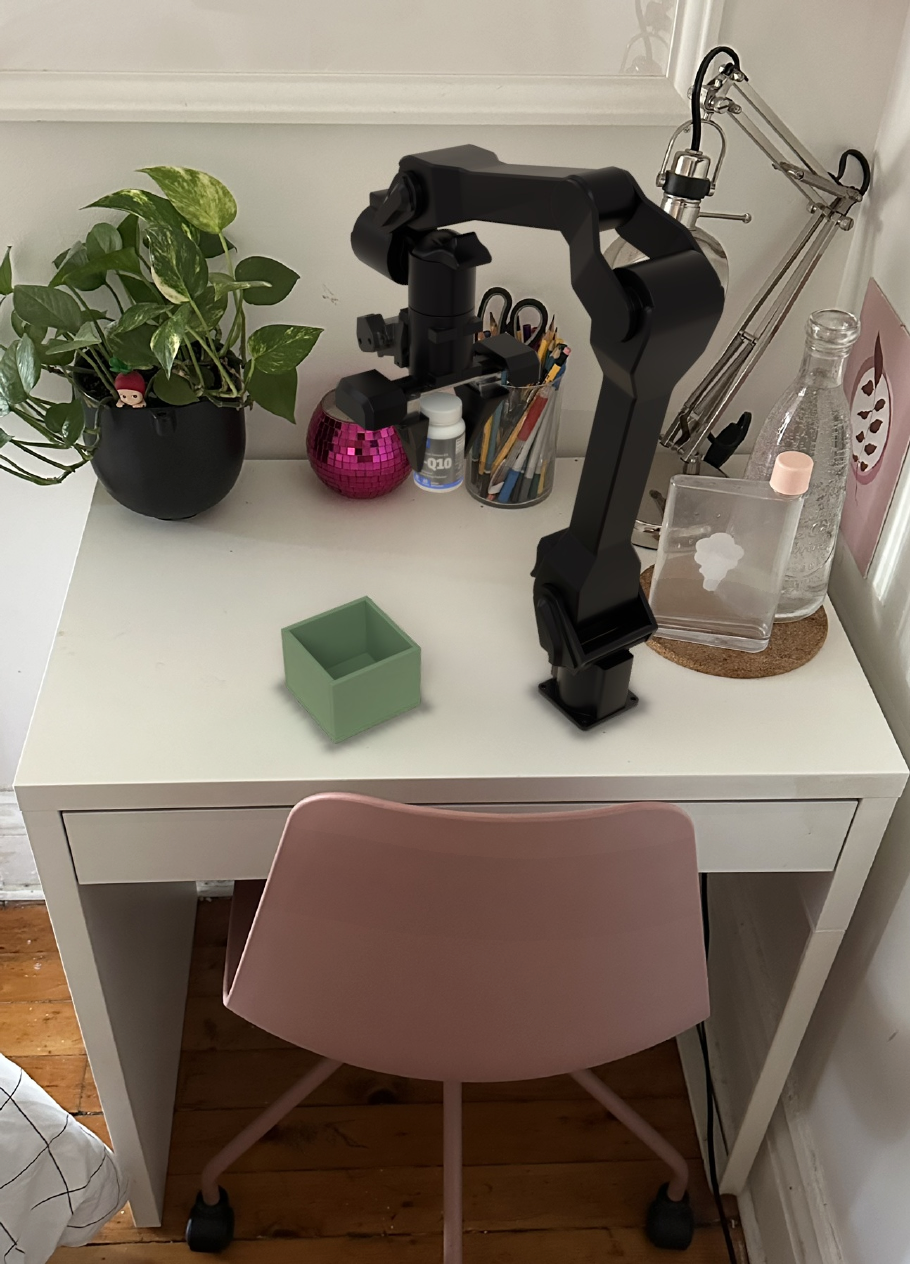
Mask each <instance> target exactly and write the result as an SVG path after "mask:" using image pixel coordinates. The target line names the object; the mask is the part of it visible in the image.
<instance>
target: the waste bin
mask: <svg viewBox="0 0 910 1264" xmlns="http://www.w3.org/2000/svg"><path fill="white" fill-rule="evenodd" d="M280 634H281V646H282V647H281V648H282V657H283V658H282V659H283V668H284V670H283V671H284V681H285V687H286V688H287V689H288V690H289V692H290V693H291V694H292V696H293V697H294V698H295V699H296V700H297V701H298V702H299V703H300V704H301V706H302V707H303V708H304V709H305V710H306V711H307V713H308V714H309V715H310V716H311V717H312V718H313V720H314V721H315V722H316V723H317V724H318V726H319V727H320V728H321V729H322V730H323V731H324V732H325V734H326V735H328V737H329V738H330V740H332V742H333V743H334V744H338V743H340V742H342V741H344V740H347V739H349V738H351V737H353V736H356V735H358V734H360V733H362V732H365V731H366V730H369V729H371V728H373V727H375V726H378V725H379V724H382V723H384V722H386V721H388V720H390V719H392V718H395V717H397V716H400V715H402V714H404V713H406V712H408V711H410V710H412V709H415V708H417V707H419V706H421V680H422V679H421V675H422V672H421V671H422V648H421V646H420V645H419V644H418V643H416V641H414V639H412V637H410V636H409V635H408V633H406V631H404V630H403V629H402V628H401V626H399V625H398V624H397V622H395V621H394V620H393V619H392V618H391V617H390V616H389V615H388V614H387V613H386V612H385V611H384V610H383V609H382V608H381V607H380V606H378V604H376V602H375V601H374V600H372V599H371V598H370V596H368V595H363V596H361V597H359V598H357V599H354V600H351V601H349V602H346V603H344V604H341V605H339V606H336V607H333V608H331V609H328V610H326V611H323V612H320V613H318V614H316V615H313V616H311V617H308V618H305V619H303V620H300V621H298V622H295V623H292V624H290V625H287V626H285V627H282V628H281V629H280Z"/></svg>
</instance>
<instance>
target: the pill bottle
mask: <svg viewBox="0 0 910 1264" xmlns="http://www.w3.org/2000/svg"><path fill="white" fill-rule="evenodd" d="M420 411H421V412H422V413H423V414H425V415H426V416H427V417H429V419H430V420H429V428H428V435H427V442H426V450H425V458H424V463H423V467H422V470H421V472H419V473H417V472H415V471H414V470H413V481H414V484H415V486H417V487H418V488H420V489H421V490H423V491H426V492H429V493H434V494H443V493H444V494H445V493H450V492H454V490H457V489H458V488H459V487H461V485H462V484H463V482H464V468H465V467H464V466H465V464H464V463H465V457H464V446H465V423H464V420H463V419H462V418H461V417H462V401H461V399H460V398H459V397H457V396H456V394H453V393H451V392H445V391H439V392H435V393H432V394H428V395H425V396H422V397H421V400H420Z"/></svg>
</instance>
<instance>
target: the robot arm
mask: <svg viewBox="0 0 910 1264" xmlns="http://www.w3.org/2000/svg"><path fill="white" fill-rule="evenodd" d="M368 195H369V196H368V197H369V199H368V200H369V205H368V206H366V207H365V208H364V209H363V210H362V211H361V213H360V214H359V215H358V217H357V218H356V220H355V222H354V224H353V228H352V230H351V232H350V237H349V239H350V246H351V249H352V252H353V254H354V256H355V257H356V258H357V259H358V261H360V262H361V263H363V264H364V265H366V266H368V267H369V268H371V269H372V270H374V271H376V272H377V273H379V274H381V275H382V276H384V277H385V278H387V279H389V280H390V281H392V282H393V283H395V284H396V285H400V286H407V307H403V308H399V313H398V314H397V315H394V316H391V317H385V318H384V316H383V315H382V313H368V314H364V315H361V316H357V317H356V333H355V334H356V339H357V344H358V347H359V350H360V351H361V352H362V353H376V354H377V358H384V357H385V356H386V357H393V364H394V365H395V366H397V367H398V368H399V369H407V370H408V372H407V373H408V375H405V376H401V377H399V378H396V379H392V380H391V379H390V378H389V377H387V376H386V375H384V374H383V373H382V372H380V371H379V370H377V369H376V368H372V369H369V370H366V371H362V372H358V373H354V374H350V375H347V376H344V377H341V379H339V381H338V382H337V383H336V384H335V388H334V400H335V402H334V403H335V407H336V408H337V409H338V410H339V411H340V412H342V413H343V414H344V415H345V416H347V418H349V419H350V420H351V421H353V422H354V423H355V424H356V425H358V426H359V427H360V428H361V429H363V430H364V431H366V432H377V431H381V430H383V429H389V428H390V427H393V428H394V429H395V431H396V434H397V436H398V438H399V440H400V443H401V446H402V448H403V451H404V453H405V455H406V458H407V460H408V463H409V465H410V468H411V469H412V470H413V472H414V471H415V472H417V473H419V472H421V470H422V467H423V463H424V458H425V450H426V442H427V435H428V428H429V420H430V419H429V417H427V416H426V415H425V414H423V413H422V412H421V411H420V400H421V397H422V396H425V395H428V394H432V393H435V392H443V391H445V390H448V389H452V388H453V391H454V393H455V394H454V395H455V396H457V397H459V398H460V399H461V401H462V417H461V418H462V419H463V420H464V423H465V446H464V458H466V457H467V456H468V455H469V452H470V451H471V449H472V448H473V446H474V444H475V443H476V441H477V439H478V438H479V436H480V434H481V432H482V431H483V430H484V428H485V426H486V425H487V423H488V422H489V421H490V419H491V417H492V416H493V415H494V413H495V412H496V410H497V409H498V408H499V406H500V405H501V403H502V402H503V401H505V400H506V399H509V398H510V397H511V396H510V395H511V390H510V389H508V388H506V387H505V386H504V385H502V372H506V374H505V380H506V382H507V383H508V384H510V385H511V386H512V387H514V388H515V389H519V388H522V387H526V386H528V385H531V384H535V383H539V382H540V380H541V379H540V378H541V369H542V367H541V365H542V361H541V358H540V356H539V354H538V352H537V351H536V350H535V349H534V348H532V347H530V346H529V345H528V344H526V343H524V342H522V341H521V340H519V339H517V338H516V337H514V335H513V336H512V335H511V334H510V333H508V332H503V333H500V334H496V335H492V336H489V337H485V338H482V339H477V340H476V341H475V335H476V334H479V333H483V332H484V320H483V319H482V318H481V317H480V316H479V317H478V316H477V315H476V290H477V289H476V286H477V267H480V266H485V265H489V264H491V263H492V261H493V256H492V254H491V252H490V250H489V249H488V247H486V246H485V245H484V244H483V243H482V242H481V240H480V238H479V237H478V234H477V232H476V231H468V232H465V233H461V232H459V231H458V230H455V229H452V228H444V227H450V226H454V225H460V224H464V223H469V222H474V221H477V222H483V223H492V224H499V225H500V224H501V225H507V226H516V227H523V228H531V229H539V230H540V229H541V230H548V231H556V232H560V233H561V235H562V237H563V239H564V240H565V242H566V243H567V245H568V249H569V269H570V271H569V272H570V273H569V274H570V286H571V288H572V290H573V292H574V293H575V295H576V297H577V299H578V301H580V303H581V305H582V307H583V308H584V310H585V311H586V313H587V315H588V317H589V318H590V330H589V344H590V347H591V350H592V351H593V353H594V356H595V358H596V361H597V363H598V365H599V367H600V369H601V372H602V381H601V385H600V390H599V394H598V398H597V403H596V407H595V412H594V416H593V420H592V425H591V429H590V434H589V438H588V442H587V447H586V451H585V455H584V460H583V463H582V464H583V465H582V468H581V473H580V477H579V482H578V487H577V492H576V496H575V500H574V504H573V508H572V512H571V519H570V521H569V525H568V526H567V527H565V528H562V529H559V530H557V531H555V532H552V533H550V534H549V533H548V534H546V535H545V536H541V537H540V539H539V542H538V544H537V546H536V555H535V556H536V557H535V563H534V566H533V568H532V570H531V571H530V573H529V575H530V577H531V578H534V581H533V584H532V585H533V586H532V602H533V603H532V604H533V610H534V617H535V621H536V627H537V635H538V636H537V637H538V640H539V646H540V647H541V649H543V650H544V651H545V652H546V653H547V656H548V660H547V663H549V664H550V665H551V669H550V676H552V677H551V678H549V679H547V680H544V681H542V682H541V683H539V684H538V685H537V691H538V693H540V695H542V696H543V697H544V698H545V699H546V700H547V701H548V702H549V703H551V704H552V705H553V706H554V707H555V708H556V709H557V710H558V711H559V712H560V713H561V714H562V715H563V716H565V717H566V718H567V719H568V721H570V722H571V723H573V725H575V726H576V727H577V728H578V729H579V730H581V731H582V732H586V731H589V730H591V729H593V728H596V727H598V726H599V725H601V724H603V723H605V722H607V721H609V720H611V719H613V718H614V717H617V716H618V715H621V714H623V713H625V712H627V711H629V710H630V709H633V708H634V707H636V706H638V705H639V701H640V698H639V697H638V695H636V694H635V693H634V692H633V691H631V690H630V689H629V687H630V681H631V675H632V670H633V665H634V664H633V663H634V657H635V655H634V654H633V653H632V652H631V651H630V649H631V648H635V647H636V646H639V645H641V644H642V643H647V642H649V641H651V640H652V639H653V638H654V636H655V635H656V633H657V632H658V630H659V624H658V622H657V621H658V620H656V617H655V614H654V612H653V610H652V607H651V605H650V603H649V600H648V598H647V595H646V593H645V590H644V588H643V586H642V584H641V580H640V579H641V573H642V560H641V559H640V556H639V554H638V552H637V551H636V548H635V546H634V544H633V542H632V536H633V533H634V529H635V527H636V526H635V525H636V522H637V518H638V515H639V511H640V509H641V504H642V502H643V497H644V495H645V494H644V493H645V489H646V488H647V487H646V486H647V483H648V479H649V476H650V472H651V468H652V465H653V462H654V458H655V455H656V451H657V447H658V444H659V440H660V436H661V433H662V429H663V427H664V426H663V425H664V422H665V419H666V414H667V411H668V408H669V404H670V400H671V397H672V393H673V391H674V389H675V387H676V385H677V384H678V383H679V382H680V381H681V380H682V379H683V377H685V375H686V374H687V372H688V371H689V370H690V369H691V368H692V367H693V366H694V365H695V364H696V362H697V361H698V360H699V359H700V358H701V356H702V355H703V354H704V353H705V351H706V350H707V347H708V345H709V344H710V341H711V339H712V338H713V335H714V333H715V330H716V329H717V327H718V324H719V323H720V321H721V318H722V315H723V313H724V308H725V302H726V292H725V290H726V289H725V287H724V285H722V281H721V279H720V277H719V275H718V272H717V271H716V269H715V267H714V266H713V265H712V263H711V261H710V260H709V258H708V257H707V255H706V254H705V252H704V251H703V249H702V247H701V246H700V244H699V243H698V242H697V240H696V238H695V237H694V235H693V233H692V232H691V230H690V229H689V228H688V227H687V226H686V225H685V224H684V223H682V222H681V221H679V220H678V219H677V218H676V217H674V216H673V215H671V214H670V213H669V212H667V211H666V210H665V209H664V208H662V207H660V206H659V205H658V204H656V203H655V202H654V201H652V200H651V199H650V198H648V197H647V195H646V194H645V192H644V191H643V189H642V187H641V186H640V184H639V182H638V181H637V180H636V178H635V177H634V175H632V173H631V172H630V171H629V170H628V169H624V168H620V167H617V166H614V165H612V166H606V167H605V166H604V167H601V168H587V167H586V168H585V167H584V168H583V167H569V166H568V167H567V166H551V165H535V164H520V163H519V164H517V163H507V162H504V161H502V160H500V158H499V157H498V155H497V154H496V153H495V152H494V151H492V150H489V149H486V148H483V147H480V146H478V145H475V144H472V143H467V144H461V145H455V146H450V147H444V148H439V149H434V150H428V151H422V152H416V153H411V154H406V155H404V156H402V157H401V158H400V159H399V161H398V170H397V172H396V174H395V175H394V176H393V178H392V180H391V182H390V183H389V186H388V188H384V189H380V190H375V191H370V192H369V194H368ZM610 230H614V231H615V233H616V234H617V235H618V236H619V237H620V238H621V239H623V241H625V242H626V243H628V244H629V245H631V246H632V247H633V248H634V249H636V250H637V251H639V252H640V253H642V254H643V255H644V256H646V257H647V259H643V260H639V261H636V262H632V263H628V264H624V265H620V266H616V267H614V268H612V267H611V265H610V264H609V262H608V261H607V259H606V257H605V256H604V254H603V252H602V250H601V234H600V233H601V232H607V231H610Z"/></svg>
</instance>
